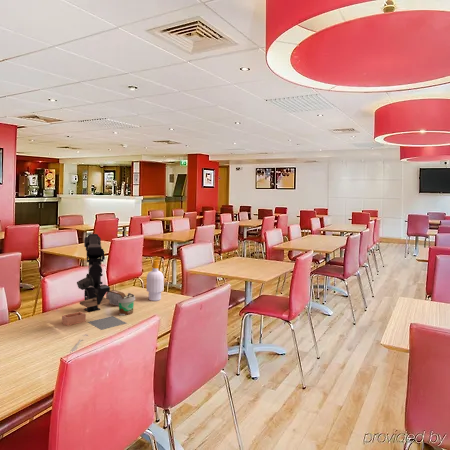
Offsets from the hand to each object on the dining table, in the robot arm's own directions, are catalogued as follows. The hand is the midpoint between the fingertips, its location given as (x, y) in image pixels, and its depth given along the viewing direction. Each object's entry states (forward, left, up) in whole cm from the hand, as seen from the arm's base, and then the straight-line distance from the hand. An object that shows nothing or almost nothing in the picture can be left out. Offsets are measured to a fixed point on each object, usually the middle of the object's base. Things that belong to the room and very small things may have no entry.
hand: (94, 302), depth 196 cm
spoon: (+20, -18, -11) cm, 29 cm away
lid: (0, 0, 0) cm, 0 cm away
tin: (-20, +23, -11) cm, 33 cm away
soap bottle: (-16, +47, -11) cm, 51 cm away
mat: (+4, +4, -11) cm, 12 cm away
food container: (-2, +20, -11) cm, 23 cm away
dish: (-7, -8, -11) cm, 15 cm away
